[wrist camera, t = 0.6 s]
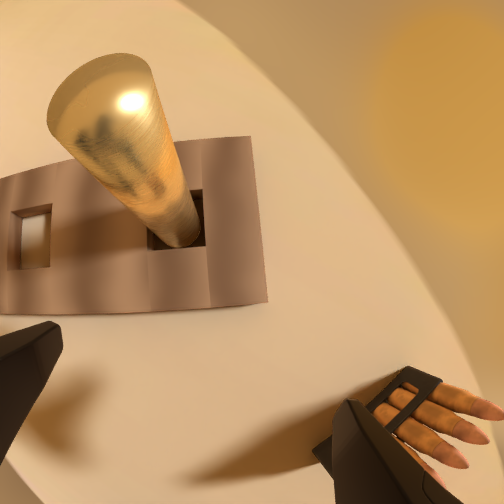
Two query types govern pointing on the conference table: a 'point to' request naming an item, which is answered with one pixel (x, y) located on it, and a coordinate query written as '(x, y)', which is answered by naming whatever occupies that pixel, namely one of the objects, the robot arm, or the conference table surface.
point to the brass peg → (126, 142)
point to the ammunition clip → (425, 419)
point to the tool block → (134, 240)
